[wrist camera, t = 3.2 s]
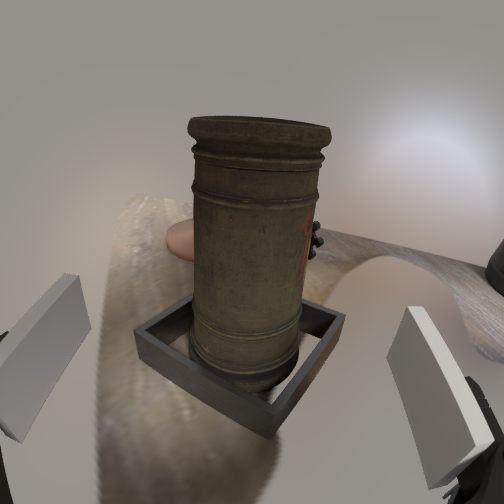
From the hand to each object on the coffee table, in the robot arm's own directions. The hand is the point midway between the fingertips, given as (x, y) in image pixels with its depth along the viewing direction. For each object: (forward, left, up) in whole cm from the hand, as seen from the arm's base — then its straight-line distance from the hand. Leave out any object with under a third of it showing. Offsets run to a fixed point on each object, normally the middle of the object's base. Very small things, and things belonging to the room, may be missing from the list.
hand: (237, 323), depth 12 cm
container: (-9, -5, -11) cm, 15 cm away
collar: (-9, -5, -11) cm, 15 cm away
